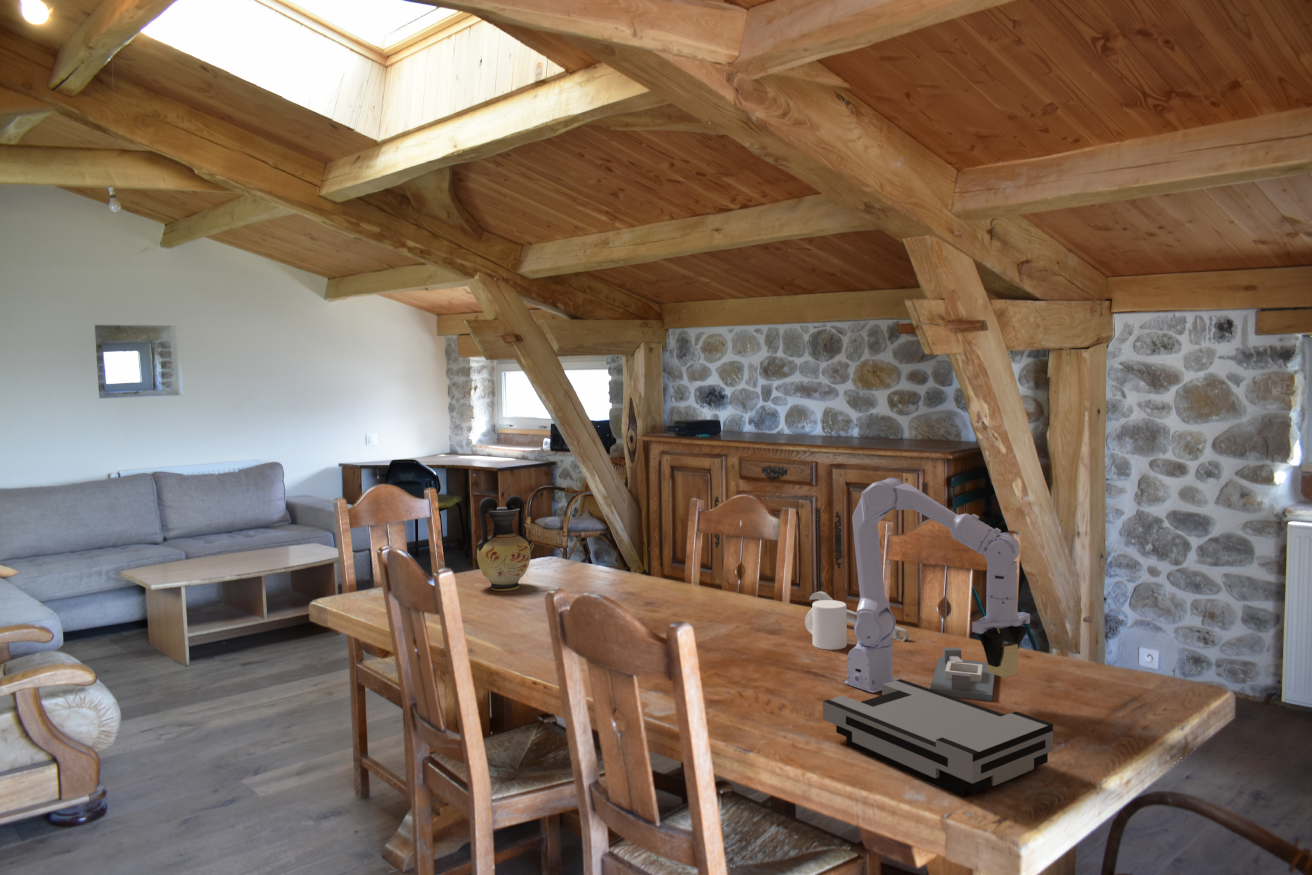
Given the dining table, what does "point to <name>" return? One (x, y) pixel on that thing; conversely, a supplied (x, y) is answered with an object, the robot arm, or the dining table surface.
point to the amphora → (503, 544)
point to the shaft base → (962, 677)
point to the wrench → (853, 616)
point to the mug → (828, 624)
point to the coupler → (1006, 660)
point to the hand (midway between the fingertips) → (1001, 663)
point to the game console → (941, 736)
